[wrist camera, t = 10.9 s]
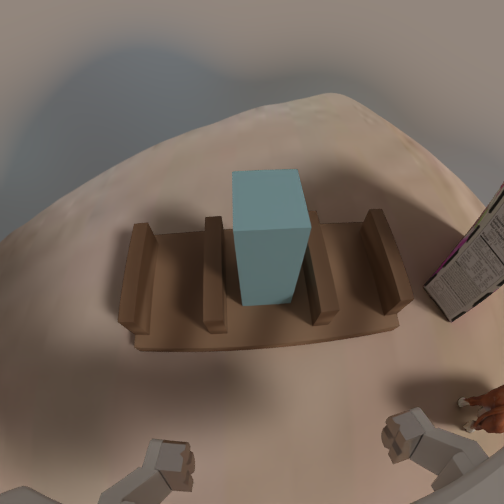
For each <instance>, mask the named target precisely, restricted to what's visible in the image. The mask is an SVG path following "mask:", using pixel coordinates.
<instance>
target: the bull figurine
mask: <svg viewBox="0 0 504 504" xmlns="http://www.w3.org/2000/svg"><path fill="white" fill-rule="evenodd" d="M458 405H459V407H464V406H465V405H471V406H475V405H480V406H483V407H482V408H481V409H480V410H478V419H477V421H473V420H472V421H470V422H468V423H467V424H465V425H464V426H463V428H465V429H467V430H466V431H467V432H469V433H472V432H474V431H475V430H481V429H484V430H486V431H487V432H488V433H503V432H504V385H502V386H500V387H498V388H496V389H493V390H491V391H490V392H488V393H487V394H485V395H481V396H478V397H470V398H468V399H465V398H464V397H462V398H460V399H459V400H458Z"/></svg>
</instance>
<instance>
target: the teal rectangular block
mask: <svg viewBox="0 0 504 504" xmlns="http://www.w3.org/2000/svg"><path fill="white" fill-rule="evenodd" d="M232 190H233V234H234V243H235V251H236V259H237V267H238V275H239V282H240V290H241V298H242V305H243V306H254V305H270V304H285V303H291V300H292V297H293V293H294V290H295V287H296V283H297V280H298V276H299V272H300V269H301V265H302V262H303V258H304V254H305V250H306V247H307V243H308V239H309V235H310V231H311V223H310V219H309V214H308V210H307V206H306V202H305V198H304V194H303V190H302V186H301V182H300V178H299V174H298V170H297V169H282V170H254V171H235V172H232Z"/></svg>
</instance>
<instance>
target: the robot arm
mask: <svg viewBox="0 0 504 504" xmlns="http://www.w3.org/2000/svg"><path fill="white" fill-rule="evenodd" d="M385 423H386V424H387V425H386V426H385V427H384V428H383V430H382V433H381V439H382V443H383V445H384V447H385V448H387V449H389V453H388V455H389V457H390V459H391V461H392V463H393V464H396V463H398V462H401V461H404V460H407V459H409V458H410V460H412V461H414V462H415V463H417V464H419V465H420V466H422V467H424V468H425V469H427V470H429V471H431V472H432V473H434V474H436V475H438V477H437V478H436V479H435V480H434V482H433V483H432V485H431V486H432V488H433V490H434V492H433V493H431V494H429V495H427V496H425V497H423V498H421V499H419V500H417V501H415V502H412V503H410V504H504V447H502V448H501V449H500V450H499V451H497V452H496V453H495V454H493V455H492V456H491V457H488V456H487V454H486V453H485V452H484V451H483V449H482V448H481V447H480V445H479V444H478V443H477V442H476V441H474V440H471V439H468V438H465V437H462V436H459V435H456V434H454V433H451V432H448V431H446V430H443V429H440V428H435V427H434V426H433V424H432V423H431V422H430V420H429V419H428V418H427V416H426V415H425V414H424V412H423V411H422V410H421V408H419V407H416V408H413V409H410V410H407V411H404V412H401V413H398V414H395V415H392V416H389V417H388V418H387V419H386V422H385ZM194 471H195V458H194V454H193V452H191V451H190V444H189V442H179V441H169V440H160V439H152V440H151V441H150V443H149V446H148V449H147V453H146V456H145V459H144V462H143V466H142V468H141V467H138V468H137V469H136V470H134V471H133V472H132V473H130V474H129V475H127V476H126V477H125V478H123V479H122V480H120V481H119V482H118V483H116V484H115V485H113V486H112V487H110V488H109V489H107V490H106V491H104V492H103V493H101V496H100V499H99V501H98V504H160V503H161V502H162V501H163V500H164V499H165V498H166V497H167V496H168V495H169V494H170V493H171V492H172V491H184V492H192V486H193V478H192V476H191V474H192V473H194ZM171 490H172V491H171ZM0 504H62V503H59V502H57V501H55V500H53V499H51V498H49V497H47V496H45V495H43V494H41V493H39V492H37V491H36V490H34V489H32V488H30V487H27V486H22V487H17V488H14V489H11V490H9V491H6V492H3V493H1V494H0Z"/></svg>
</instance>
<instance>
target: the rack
mask: <svg viewBox="0 0 504 504" xmlns="http://www.w3.org/2000/svg"><path fill="white" fill-rule="evenodd" d="M308 214H309V219H310V223H311V231H310V235H309V239H308V243H307V247H306V250H305V254H304V258H303V262H302V265H301V269H300V272H299V276H298V280H297V283H296V287H295V290H294V293H293V297H292V300H291V303H285V304H270V305H254V306H243V305H242V298H241V290H240V282H239V275H238V267H237V259H236V251H235V243H234V234H233V229H226V230H223V224H222V217H221V216H215V217H205V231H199V232H186V233H174V234H162V235H154V234H153V232H152V230H151V228H150V226H149V224H148V223H138V224H134V227H133V231H132V236H131V241H130V246H129V251H128V256H127V261H126V267H125V273H124V279H123V285H122V292H121V299H120V307H119V315H118V322H119V323H120V324H121V325H123V326H124V327H125V328H127V329H128V330H129V331H131V332H132V333H134V334H135V345H134V348H136V349H138V350H140V351H155V352H206V351H233V350H250V349H264V348H276V347H286V346H296V345H305V344H313V343H321V342H328V341H335V340H341V339H348V338H354V337H360V336H366V335H371V334H376V333H382V332H387V331H392V330H394V329H395V328H397V327H398V326H400V325H399V321H398V317H397V313H398V312H399V311H401V310H402V309H403V308H404V307H405V306H406V305H408V304H409V303H410V302H411V301H412V300H413V299H414V295H413V292H412V289H411V285H410V282H409V279H408V276H407V273H406V270H405V267H404V264H403V261H402V258H401V256H400V253H399V250H398V247H397V245H396V242H395V240H394V237H393V234H392V232H391V229H390V227H389V224H388V222H387V220H386V217H385V215H384V213H383V210H382V209H369V212H368V214H367V216H366V218H365V220H364V222H353V223H330V224H320V223H319V219H318V215H317V211H308Z"/></svg>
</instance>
